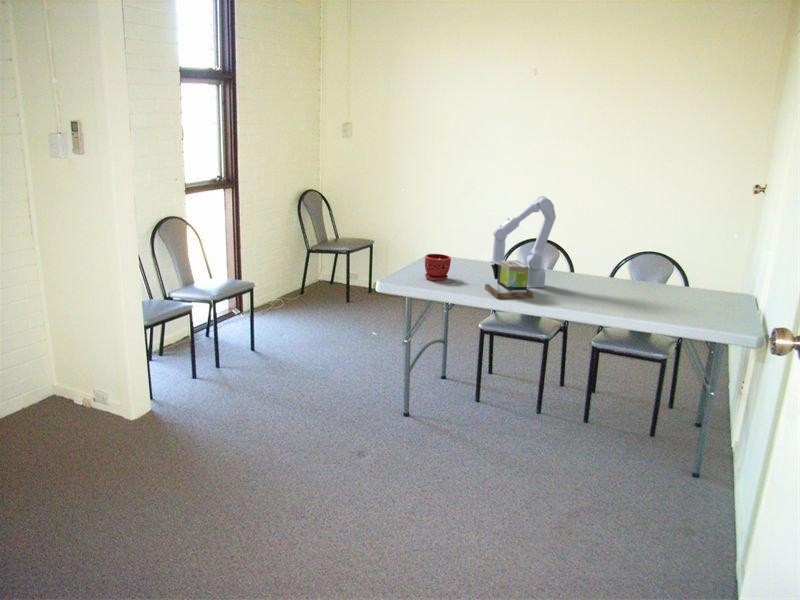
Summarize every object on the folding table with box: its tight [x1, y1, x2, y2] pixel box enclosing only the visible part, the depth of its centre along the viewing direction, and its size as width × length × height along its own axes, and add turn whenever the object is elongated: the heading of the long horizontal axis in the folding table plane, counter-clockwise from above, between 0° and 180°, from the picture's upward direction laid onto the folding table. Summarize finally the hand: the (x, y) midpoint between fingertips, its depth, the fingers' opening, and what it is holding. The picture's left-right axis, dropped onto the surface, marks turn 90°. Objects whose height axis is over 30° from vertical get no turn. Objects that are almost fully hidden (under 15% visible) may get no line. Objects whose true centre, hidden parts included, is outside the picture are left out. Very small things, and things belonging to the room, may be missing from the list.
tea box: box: [496, 259, 529, 293], centre depth 318 cm, size 15×10×15 cm
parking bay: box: [484, 283, 534, 300], centre depth 319 cm, size 18×18×2 cm
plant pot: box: [424, 253, 452, 282], centre depth 342 cm, size 13×13×12 cm
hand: (496, 279), depth 335 cm, fingers closed
